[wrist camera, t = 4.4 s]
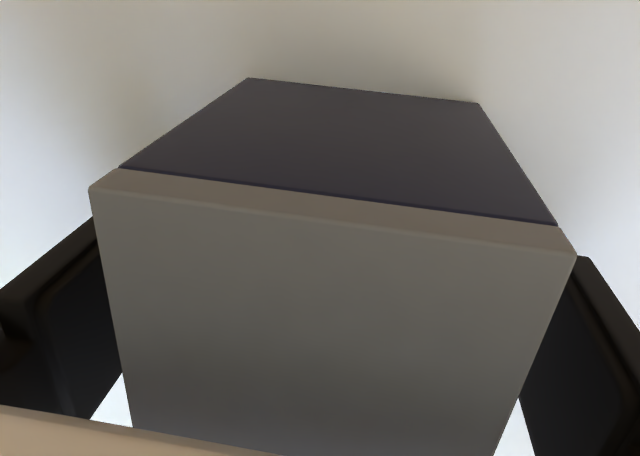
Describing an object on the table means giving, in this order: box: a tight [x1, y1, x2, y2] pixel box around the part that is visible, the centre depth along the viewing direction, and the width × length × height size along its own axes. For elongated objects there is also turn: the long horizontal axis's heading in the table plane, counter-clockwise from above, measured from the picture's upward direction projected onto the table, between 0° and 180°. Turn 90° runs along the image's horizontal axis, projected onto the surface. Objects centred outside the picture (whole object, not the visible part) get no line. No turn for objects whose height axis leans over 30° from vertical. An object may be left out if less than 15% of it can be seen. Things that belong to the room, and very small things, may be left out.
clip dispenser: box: [88, 78, 577, 456], centre depth 9 cm, size 5×8×6 cm, turn 176°
